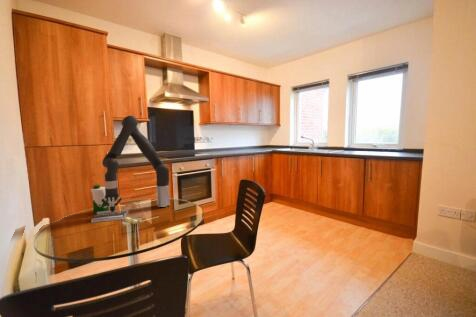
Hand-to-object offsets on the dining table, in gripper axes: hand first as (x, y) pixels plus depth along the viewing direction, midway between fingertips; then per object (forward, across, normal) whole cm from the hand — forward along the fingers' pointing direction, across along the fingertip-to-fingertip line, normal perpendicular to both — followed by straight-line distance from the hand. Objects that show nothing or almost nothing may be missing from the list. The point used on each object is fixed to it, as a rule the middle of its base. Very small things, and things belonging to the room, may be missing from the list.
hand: (112, 211), depth 148 cm
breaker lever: (+2, -4, 0) cm, 4 cm away
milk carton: (+4, +10, -13) cm, 17 cm away
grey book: (+3, +2, 0) cm, 3 cm away
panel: (+4, +1, 0) cm, 4 cm away
